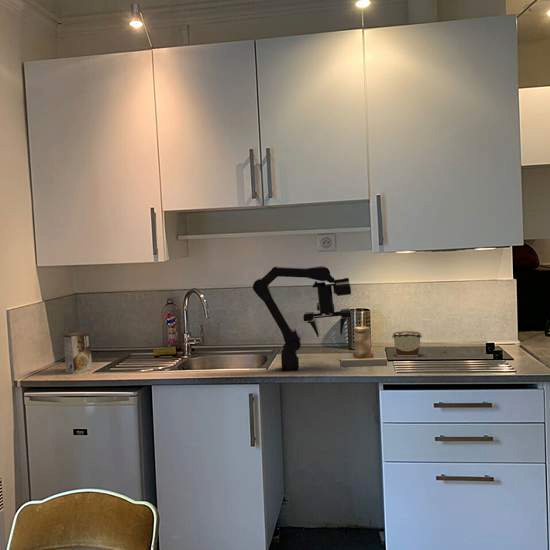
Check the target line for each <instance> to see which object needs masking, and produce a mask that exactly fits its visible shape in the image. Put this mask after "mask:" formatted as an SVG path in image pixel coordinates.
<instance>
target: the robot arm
mask: <svg viewBox="0 0 550 550" xmlns="http://www.w3.org/2000/svg"><path fill="white" fill-rule="evenodd" d="M278 277H281V278H288V277H289V278H304V279H305V278H306V279H309V280H310V279H311V280H314V283H313V284H312V286H311V287H312V289H314V288H316V290H317V299H318V302H316V310H317V312H318V313H315V312H314V311H310V312H309V311H308V312H305V313H304V314H303V315H302V316H303V317H302V319H303V322H307V324H310V326H311V327H312V329H313V331H314V334H315V335H316V337H317V338H319V337H320V335H319V334H320V333H319V330H318V325H317V321H316V320H317V319H321V318H332V317H340V321H339V322H340V325H339V328H340V329H339V331H340V336H342V335H343V330H344V325H345V322H346V320H347V321H348V320H349V318H352V311H351V308H348V307H347V308H340V311H336V309H335V304H334V298H333V295H336V296H337V297H342V296H351V295H352V289H351V288H352V287H351V285H350V278H349V277H345V278H338V279H335V277H334V276H332V274H331V271H330V269H329V268H328V267H327V266H325V265H320V266H319V265H317V266H312V267H285V266H283V267H282V266H273V267H272V268H271V269H270V271H268V273H266V274H265V275H264V276H263V277H262V278H260V277H259V278H257V279H256V280H255V281H254V282H253V284H252V289H253V292H254V293H255V294H256V295H257V297H259V299H260V300H261V301H262V302H263V303H264V304H265V306H266V308H267V309H268V311H269V313H270V315H271V316H272V318H273V319H274V322H275V324H276V325H277V326H278V329H279V330H280V332H281V334H282V337H283V341H284V343H285V344H283V346H282V347H281V351H280V352H281V354H280V361H281V368H280V371H282V372H283V371H284V372H285V371H298V369H299V368H300V363H299V362H300V361H299V360H300V357H299V355H298V353H297V351H298V350H300V348H301V345H302V344H301V343H302V342H301V340H302V338H301V337H302V336H301V335H300V334H299V333H298V331H297V330H298V329H297V328H294V329H293V328H292V327H291V326H290V325H289V323H288V322H287V320H286V318H285V317H284V315H283V313H282V311H281V309H280V308H279V306H278V304H277V302H276V301H275V299H274V297H273V295H272V292H271V288H270V286H269V285H270V284H272V283H273V281H274V280H276V279H277V278H278ZM318 281H319V282H318ZM326 282H328V283H326ZM332 289H333V290H332Z"/></svg>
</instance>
